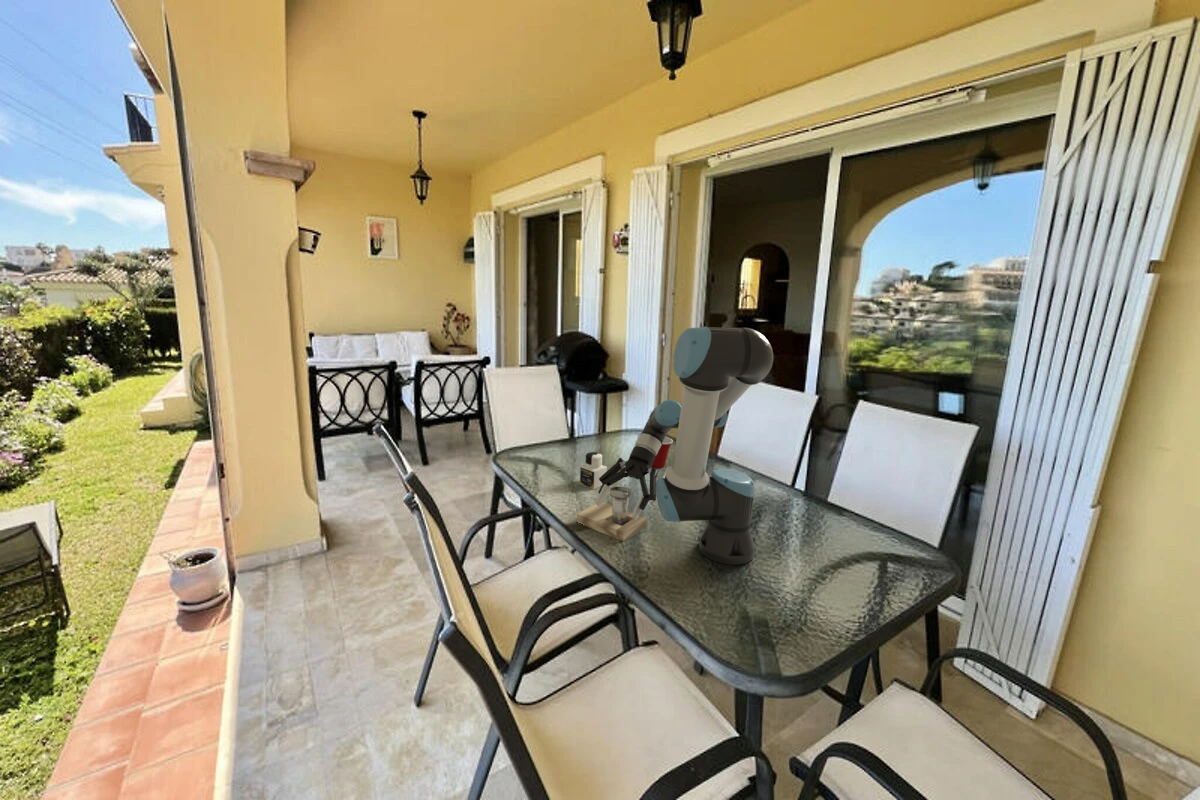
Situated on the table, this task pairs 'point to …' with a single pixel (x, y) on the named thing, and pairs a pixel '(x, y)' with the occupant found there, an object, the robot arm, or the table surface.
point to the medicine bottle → (592, 470)
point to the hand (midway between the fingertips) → (615, 511)
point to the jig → (610, 522)
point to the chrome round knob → (620, 504)
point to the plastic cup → (662, 453)
